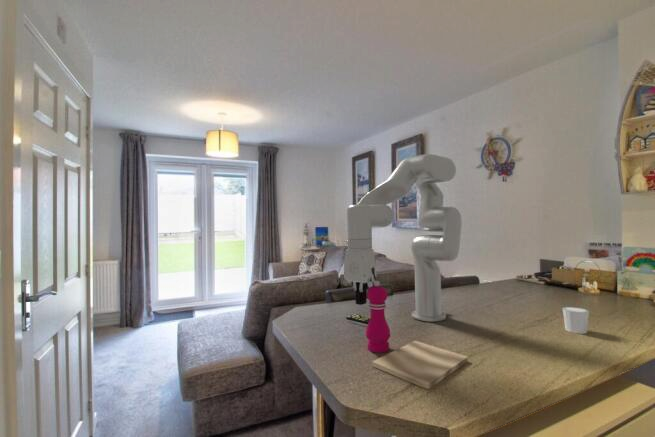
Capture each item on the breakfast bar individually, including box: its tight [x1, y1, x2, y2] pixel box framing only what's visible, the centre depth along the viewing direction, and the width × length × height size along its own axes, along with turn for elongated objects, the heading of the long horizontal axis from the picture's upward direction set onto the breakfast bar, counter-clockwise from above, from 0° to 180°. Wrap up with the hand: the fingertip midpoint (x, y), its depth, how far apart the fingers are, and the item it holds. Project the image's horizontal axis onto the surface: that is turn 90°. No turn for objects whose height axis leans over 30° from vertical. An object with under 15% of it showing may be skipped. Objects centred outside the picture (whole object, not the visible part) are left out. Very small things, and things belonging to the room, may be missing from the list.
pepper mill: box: [365, 280, 391, 354], centre depth 93 cm, size 7×7×20 cm
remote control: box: [345, 313, 370, 327], centre depth 117 cm, size 6×13×2 cm, turn 49°
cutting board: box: [371, 340, 469, 390], centre depth 83 cm, size 20×16×1 cm
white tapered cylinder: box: [562, 306, 590, 335], centre depth 104 cm, size 7×7×7 cm
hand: (361, 303), depth 98 cm, fingers closed
